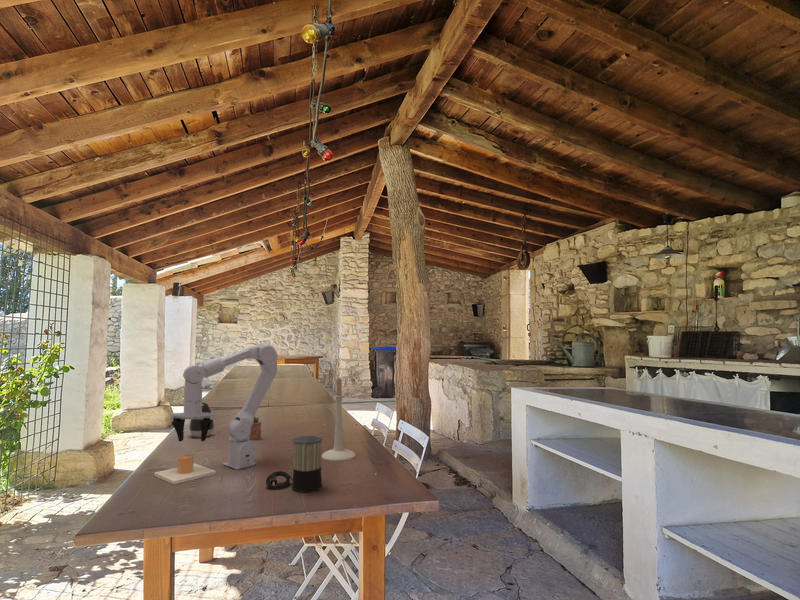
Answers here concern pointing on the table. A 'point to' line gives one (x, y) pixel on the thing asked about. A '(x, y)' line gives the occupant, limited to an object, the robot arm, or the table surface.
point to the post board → (177, 478)
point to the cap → (185, 464)
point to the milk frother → (302, 466)
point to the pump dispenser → (196, 426)
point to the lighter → (255, 430)
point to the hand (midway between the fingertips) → (192, 440)
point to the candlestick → (338, 433)
